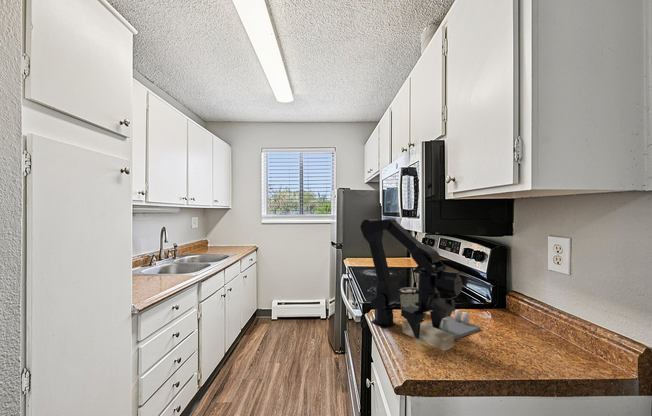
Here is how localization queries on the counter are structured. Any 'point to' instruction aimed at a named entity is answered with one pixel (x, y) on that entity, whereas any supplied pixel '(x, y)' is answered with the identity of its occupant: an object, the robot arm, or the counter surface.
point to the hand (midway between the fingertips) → (426, 335)
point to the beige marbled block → (431, 336)
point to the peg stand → (457, 325)
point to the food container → (409, 297)
